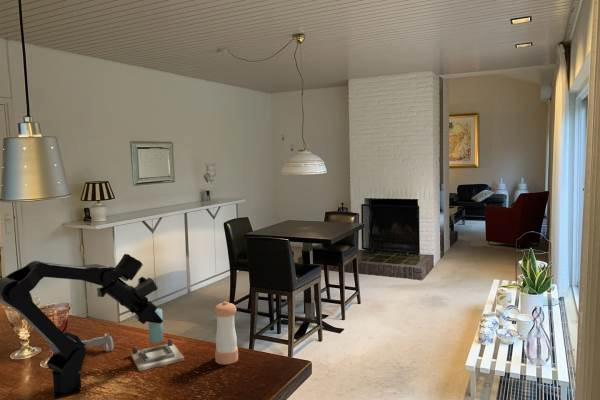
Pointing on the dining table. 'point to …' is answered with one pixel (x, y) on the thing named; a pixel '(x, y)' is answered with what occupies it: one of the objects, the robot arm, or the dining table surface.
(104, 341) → the caliper
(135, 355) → the board
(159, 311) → the pin
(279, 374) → the dining table surface
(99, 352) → the dining table surface
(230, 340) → the salt shaker
